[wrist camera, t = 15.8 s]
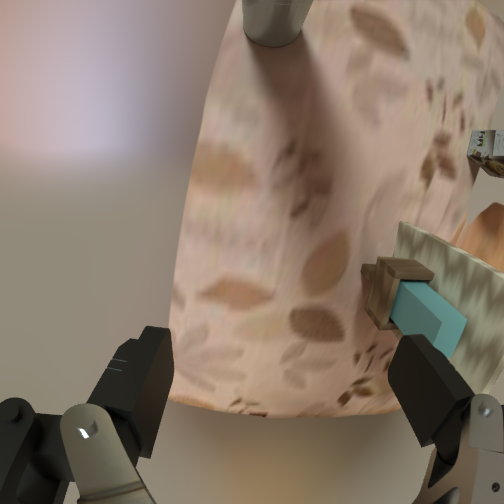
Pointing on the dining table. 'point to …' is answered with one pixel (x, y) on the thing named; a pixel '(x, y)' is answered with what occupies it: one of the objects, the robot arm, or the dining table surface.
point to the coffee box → (488, 151)
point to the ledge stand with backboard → (446, 298)
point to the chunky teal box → (427, 315)
